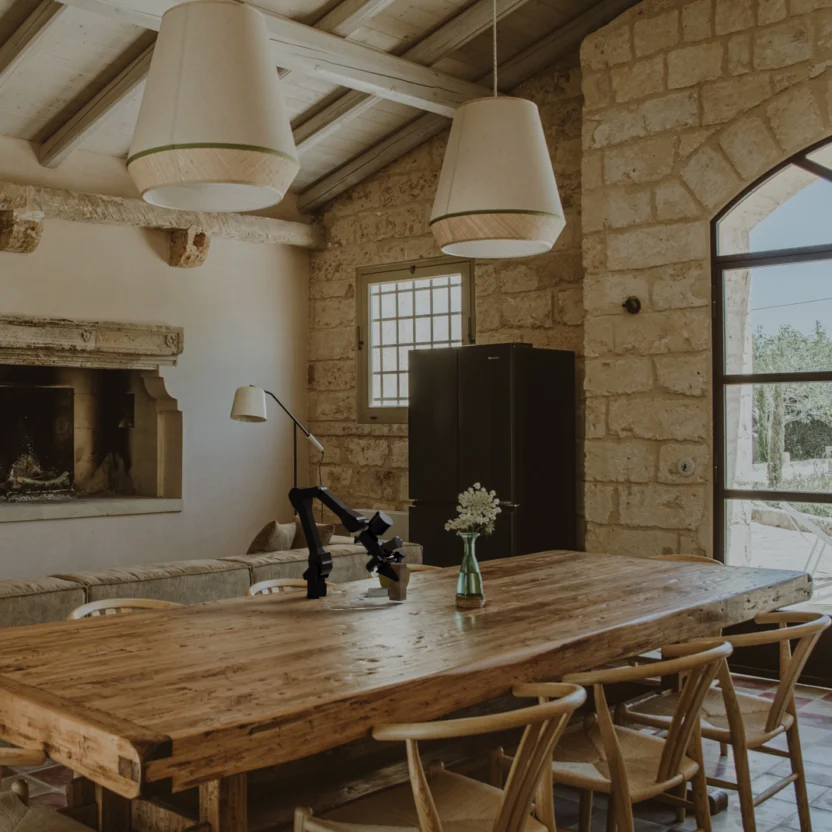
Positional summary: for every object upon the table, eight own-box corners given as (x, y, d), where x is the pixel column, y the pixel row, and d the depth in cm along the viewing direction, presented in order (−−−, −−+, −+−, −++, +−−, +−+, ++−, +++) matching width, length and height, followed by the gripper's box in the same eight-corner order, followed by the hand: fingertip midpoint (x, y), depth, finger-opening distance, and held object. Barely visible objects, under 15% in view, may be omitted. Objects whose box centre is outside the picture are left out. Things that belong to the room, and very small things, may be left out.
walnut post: (389, 600, 334) (389, 564, 334) (395, 598, 338) (395, 562, 338) (400, 601, 332) (400, 565, 332) (406, 599, 336) (406, 563, 336)
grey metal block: (370, 597, 347) (370, 589, 347) (368, 595, 351) (368, 588, 351) (387, 596, 349) (387, 589, 349) (384, 594, 353) (384, 587, 353)
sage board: (370, 603, 337) (370, 602, 337) (367, 596, 353) (367, 594, 353) (411, 603, 339) (411, 601, 339) (407, 595, 354) (407, 593, 354)
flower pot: (396, 595, 354) (396, 570, 354) (377, 593, 359) (377, 568, 359) (411, 592, 361) (411, 567, 361) (392, 590, 366) (392, 565, 366)
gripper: (373, 531, 329) (402, 567, 324) (401, 526, 345) (429, 561, 340) (353, 554, 333) (381, 590, 327) (381, 548, 349) (409, 582, 344)
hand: (401, 580), depth 334 cm, fingers closed on walnut post, 4 cm apart
